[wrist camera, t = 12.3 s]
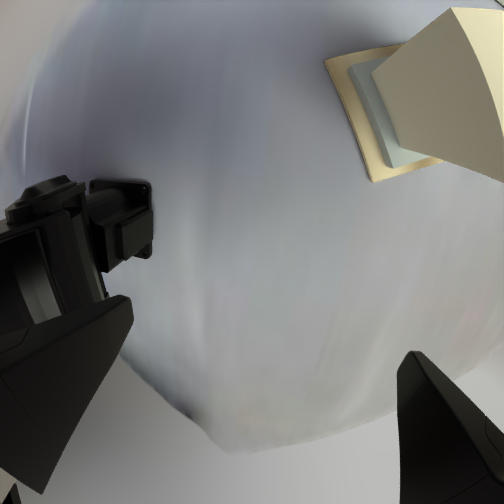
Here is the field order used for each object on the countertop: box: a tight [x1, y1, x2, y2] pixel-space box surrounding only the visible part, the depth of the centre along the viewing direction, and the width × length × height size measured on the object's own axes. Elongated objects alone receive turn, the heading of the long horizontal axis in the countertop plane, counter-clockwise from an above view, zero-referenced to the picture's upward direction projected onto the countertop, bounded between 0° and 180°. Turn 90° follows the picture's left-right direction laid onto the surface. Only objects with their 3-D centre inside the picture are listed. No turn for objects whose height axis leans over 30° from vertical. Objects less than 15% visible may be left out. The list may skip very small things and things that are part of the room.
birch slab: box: [324, 44, 444, 183], centre depth 15 cm, size 9×9×2 cm
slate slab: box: [347, 56, 431, 169], centre depth 13 cm, size 7×7×2 cm
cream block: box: [371, 8, 504, 183], centre depth 8 cm, size 4×5×11 cm
